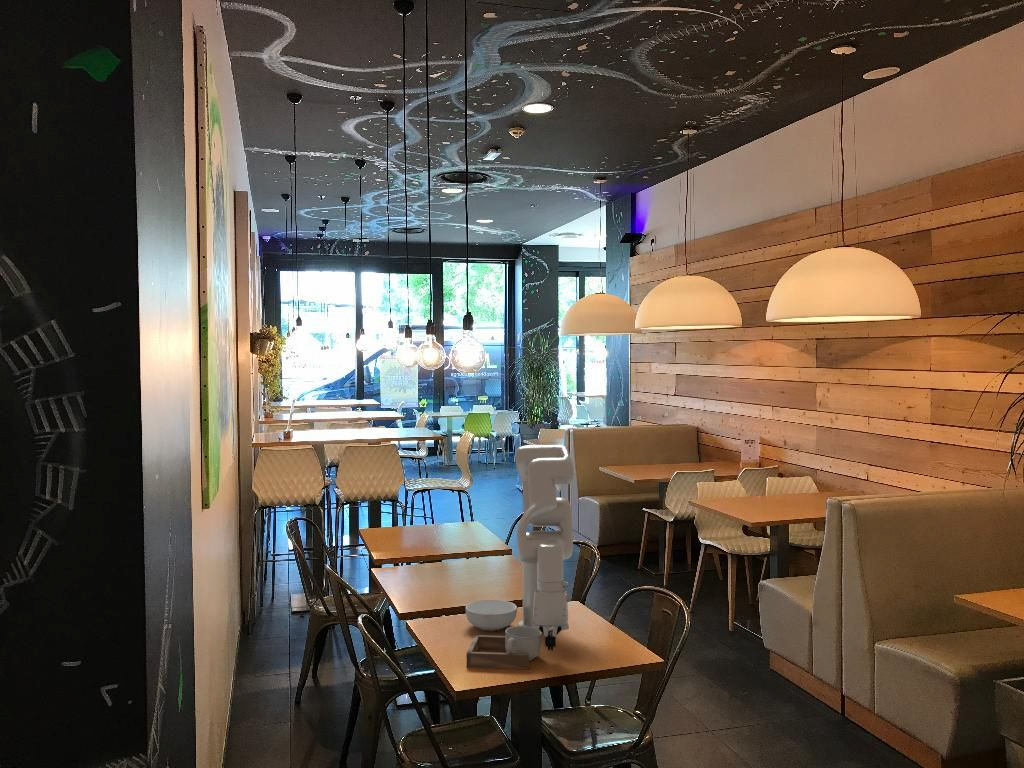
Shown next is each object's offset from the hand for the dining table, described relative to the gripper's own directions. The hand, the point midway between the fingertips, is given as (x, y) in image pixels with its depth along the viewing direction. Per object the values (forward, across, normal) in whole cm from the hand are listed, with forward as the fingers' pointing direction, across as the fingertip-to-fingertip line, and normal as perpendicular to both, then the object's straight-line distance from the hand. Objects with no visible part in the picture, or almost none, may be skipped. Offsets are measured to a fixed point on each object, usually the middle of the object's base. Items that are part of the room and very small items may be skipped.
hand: (550, 649), depth 239 cm
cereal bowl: (+3, +21, -30) cm, 37 cm away
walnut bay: (+3, +14, -1) cm, 14 cm away
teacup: (+4, +9, 0) cm, 10 cm away
